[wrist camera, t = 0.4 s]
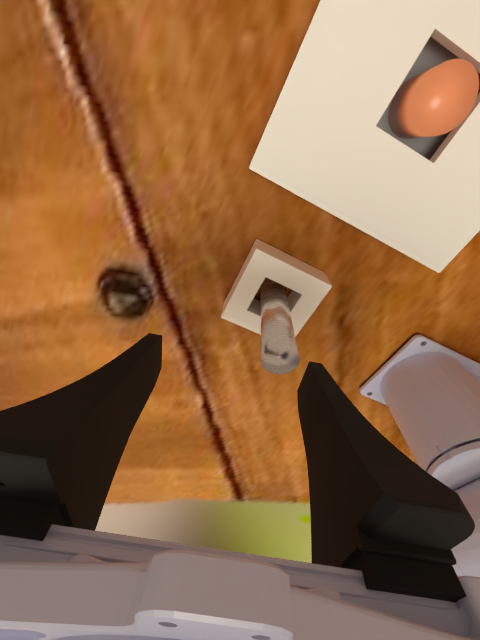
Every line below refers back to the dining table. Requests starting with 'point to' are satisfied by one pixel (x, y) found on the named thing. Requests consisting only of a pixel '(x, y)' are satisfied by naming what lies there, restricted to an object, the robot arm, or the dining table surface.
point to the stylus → (276, 329)
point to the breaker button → (431, 99)
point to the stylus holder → (283, 270)
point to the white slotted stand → (366, 138)
